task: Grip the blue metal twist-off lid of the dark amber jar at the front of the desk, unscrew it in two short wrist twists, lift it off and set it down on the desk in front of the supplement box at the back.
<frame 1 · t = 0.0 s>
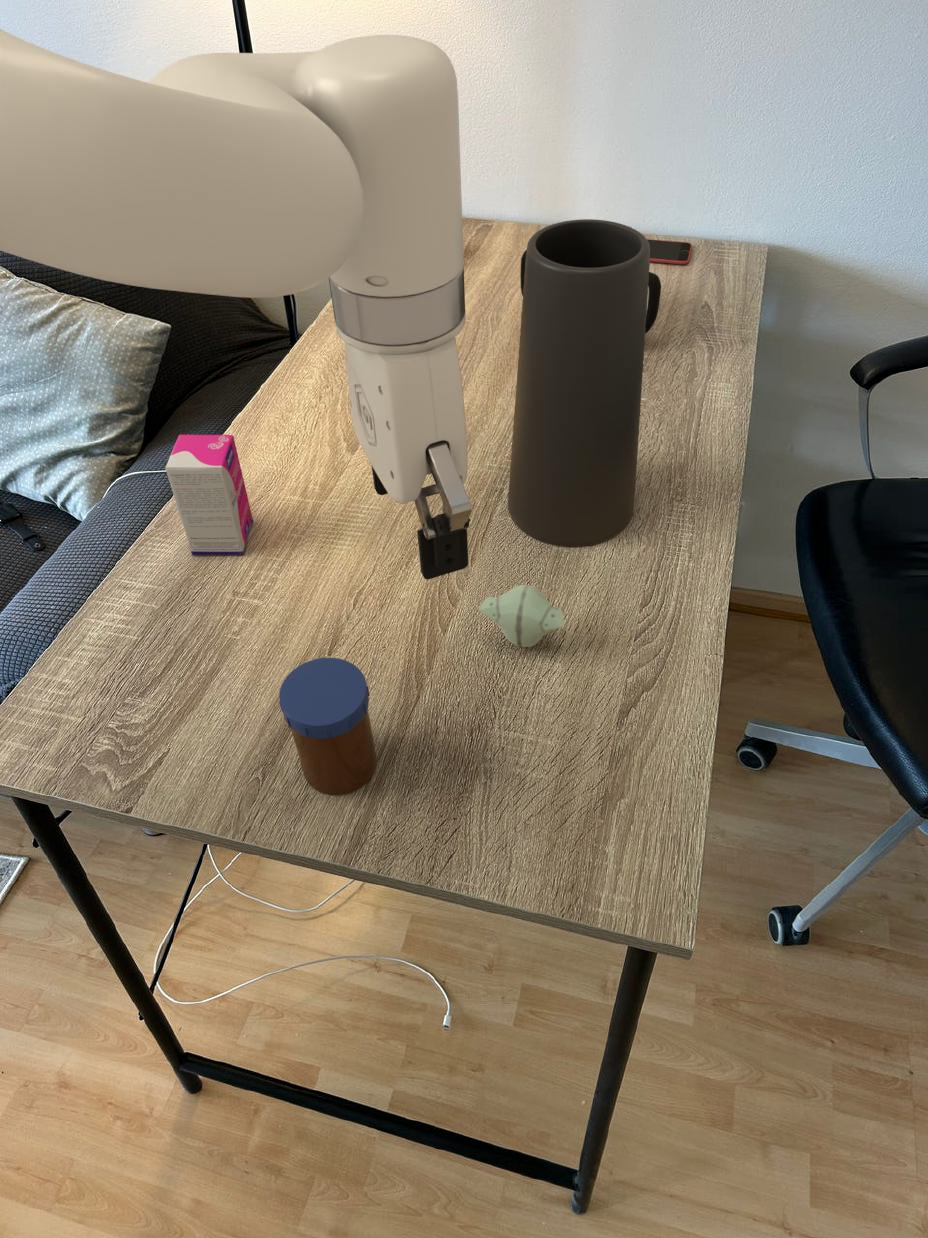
hand: (419, 527, 63), 22 cm above the table, tool pointing down, fingers open, 9 cm apart
vase: (570, 506, 98), on the table
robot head: (523, 643, 85), on the table
lid: (323, 693, 69), point 9 cm above the table, screwed on, not yet turned
supplement box: (224, 539, 96), on the table
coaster: (422, 262, 140), on the table
mug: (584, 336, 123), on the table
jar: (340, 764, 76), on the table
smartphone: (644, 253, 140), on the table
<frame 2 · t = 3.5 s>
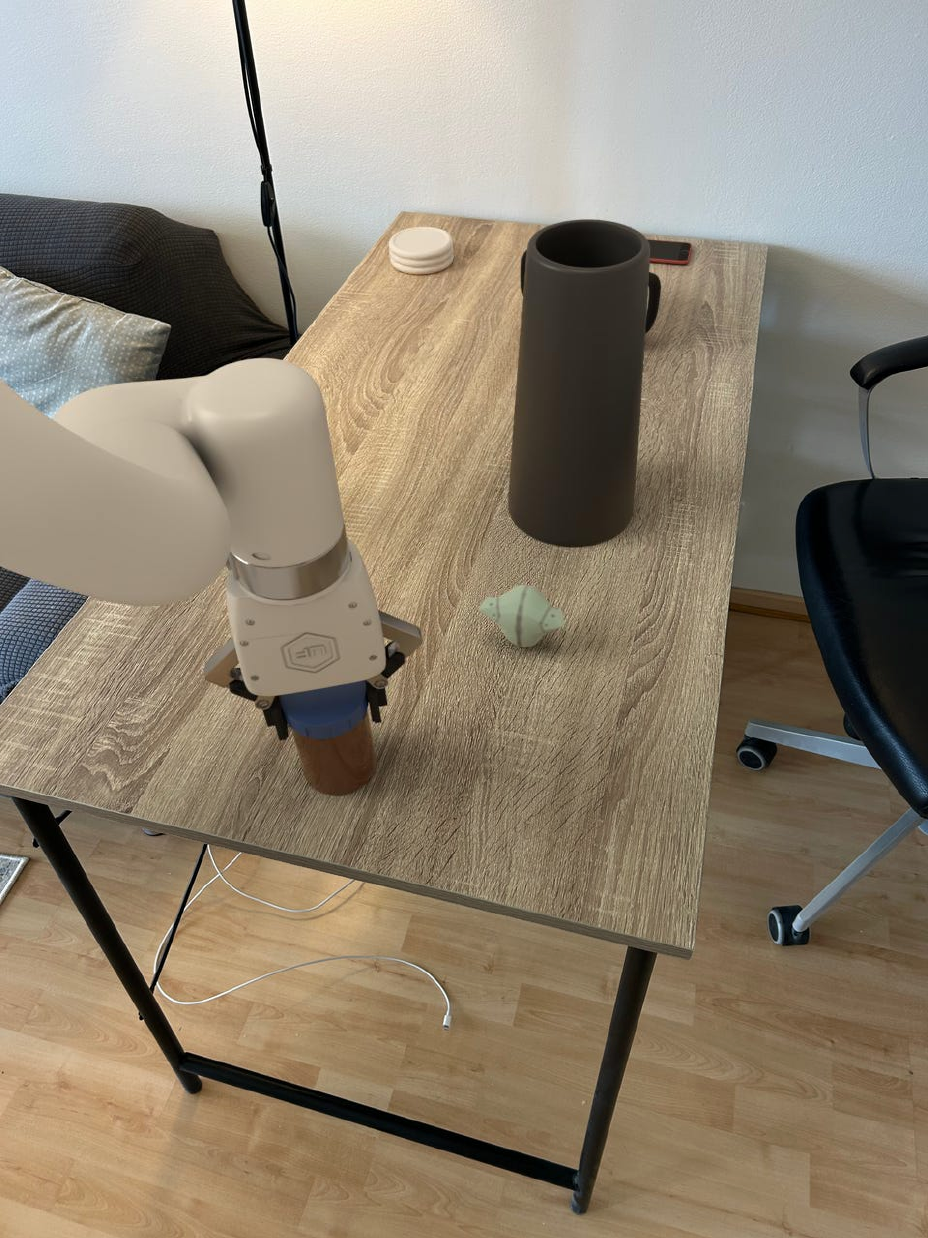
hand: (329, 716, 71), 7 cm above the table, tool pointing down, fingers closed on lid, 6 cm apart
lid: (323, 693, 69), point 9 cm above the table, screwed on, not yet turned, touching gripper
everything else where it was.
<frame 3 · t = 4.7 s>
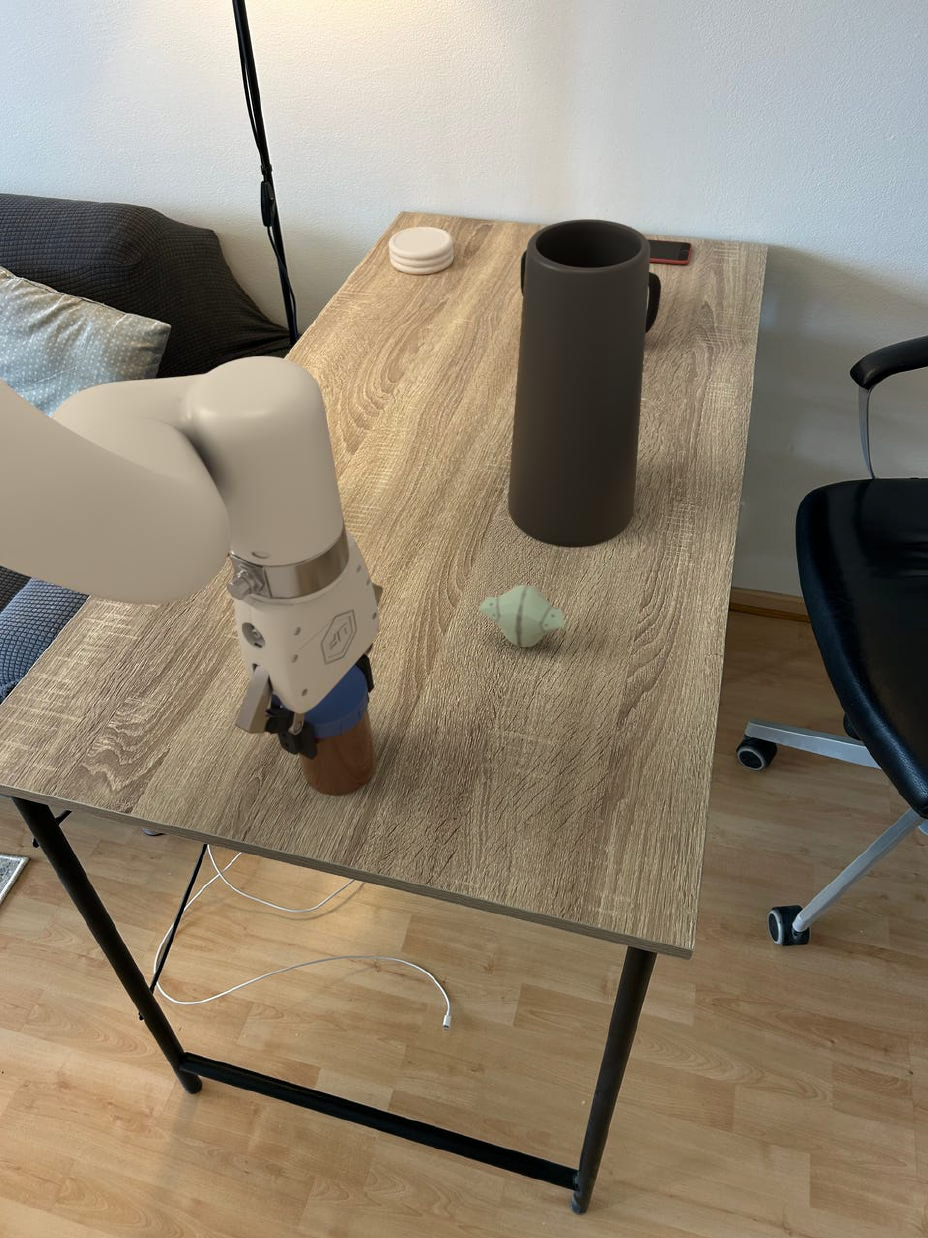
hand: (328, 715, 71), 7 cm above the table, tool pointing down, fingers closed on lid, 6 cm apart
lid: (323, 692, 69), point 10 cm above the table, turned 47° so far, risen 0.1 cm, still on its thread, touching gripper
everything else where it was.
when the fingers open (6 cm above the table, at t = 6.2 s): lid stays where it is, point 10 cm above the table.
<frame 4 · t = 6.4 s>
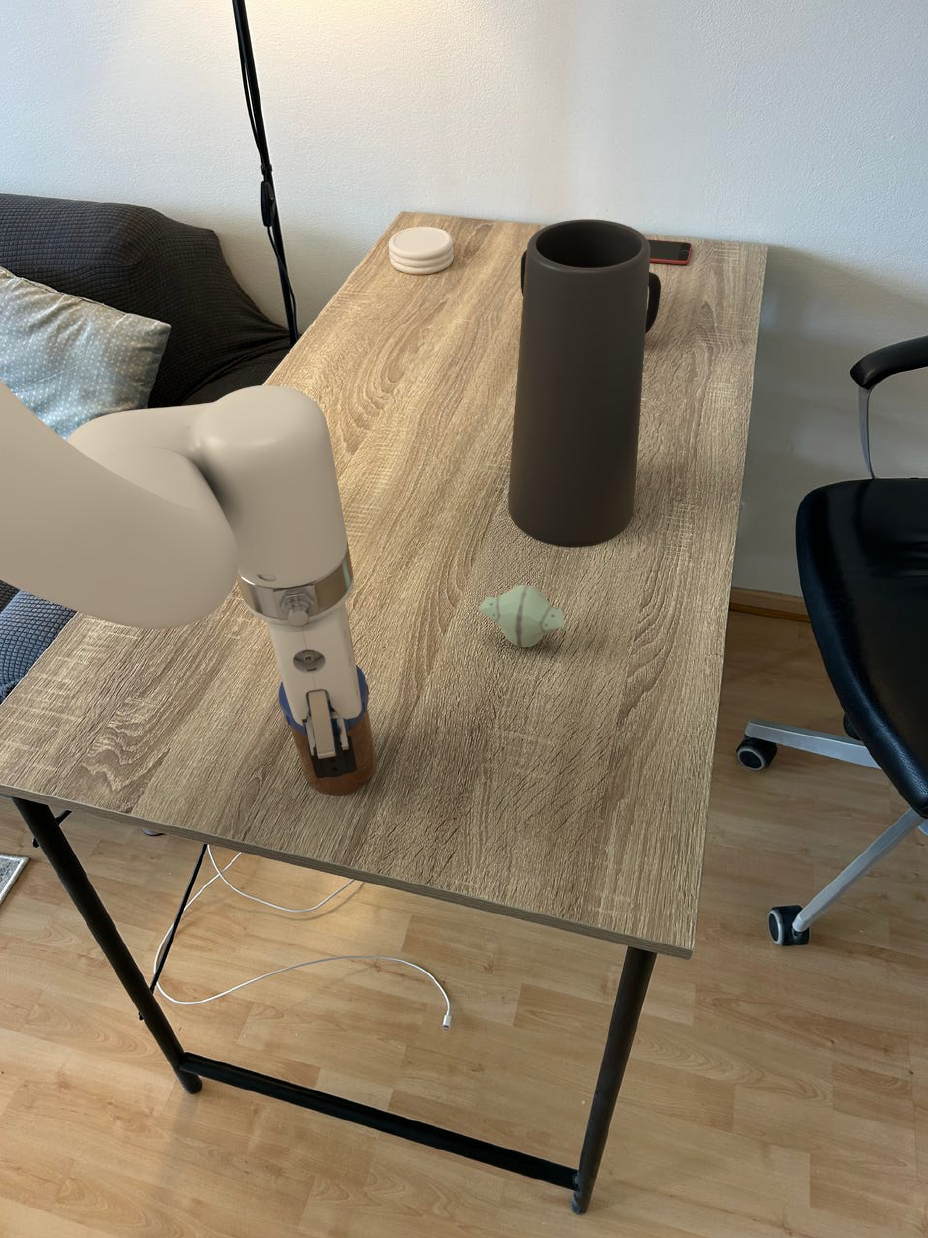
hand: (331, 727, 72), 5 cm above the table, tool pointing down, fingers open, 7 cm apart
lid: (323, 691, 69), point 10 cm above the table, turned 90° so far, risen 0.2 cm, still on its thread
everything else where it was.
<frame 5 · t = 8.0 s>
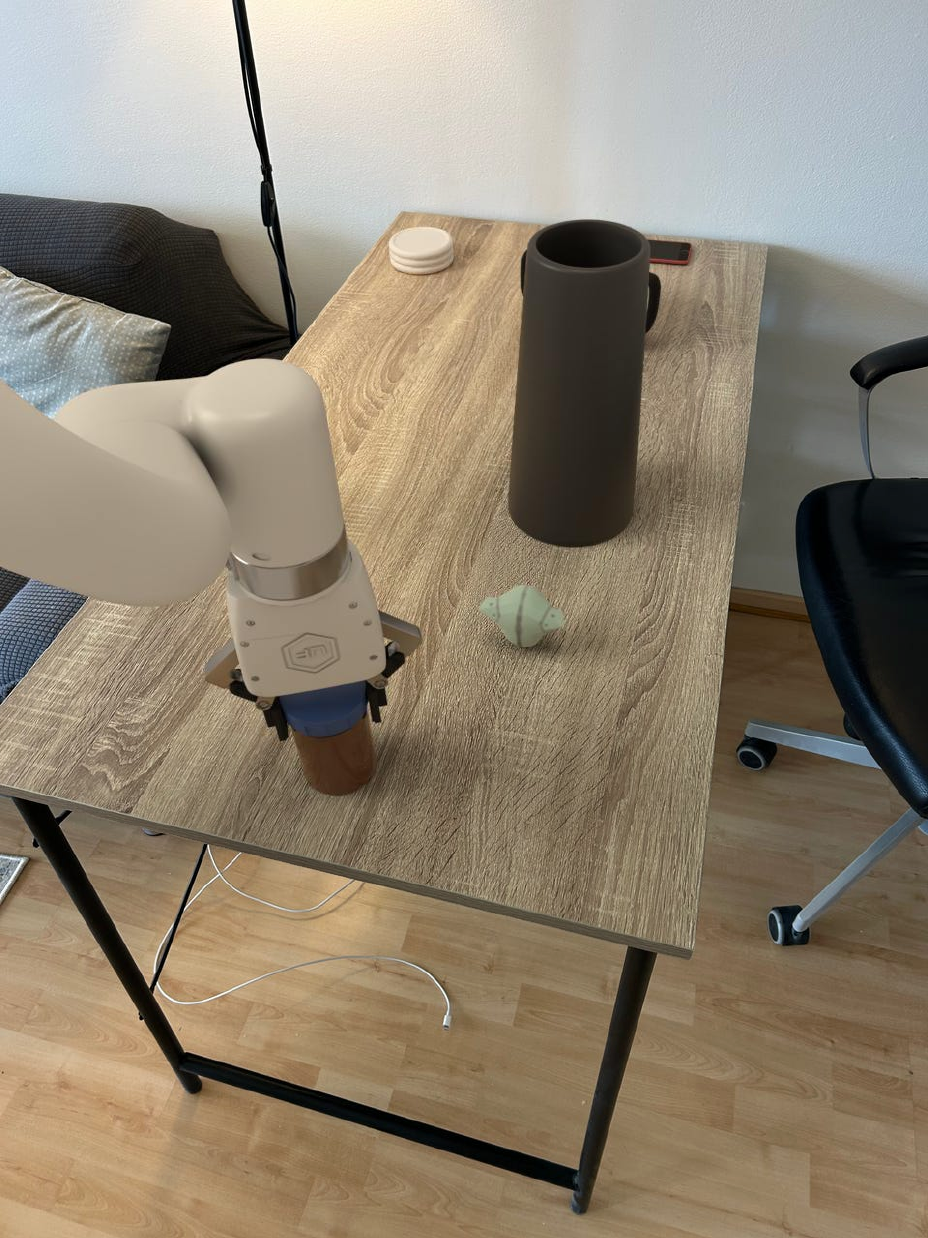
hand: (329, 716, 71), 7 cm above the table, tool pointing down, fingers closed on lid, 6 cm apart
lid: (323, 691, 69), point 10 cm above the table, turned 90° so far, risen 0.2 cm, still on its thread, touching gripper
everything else where it was.
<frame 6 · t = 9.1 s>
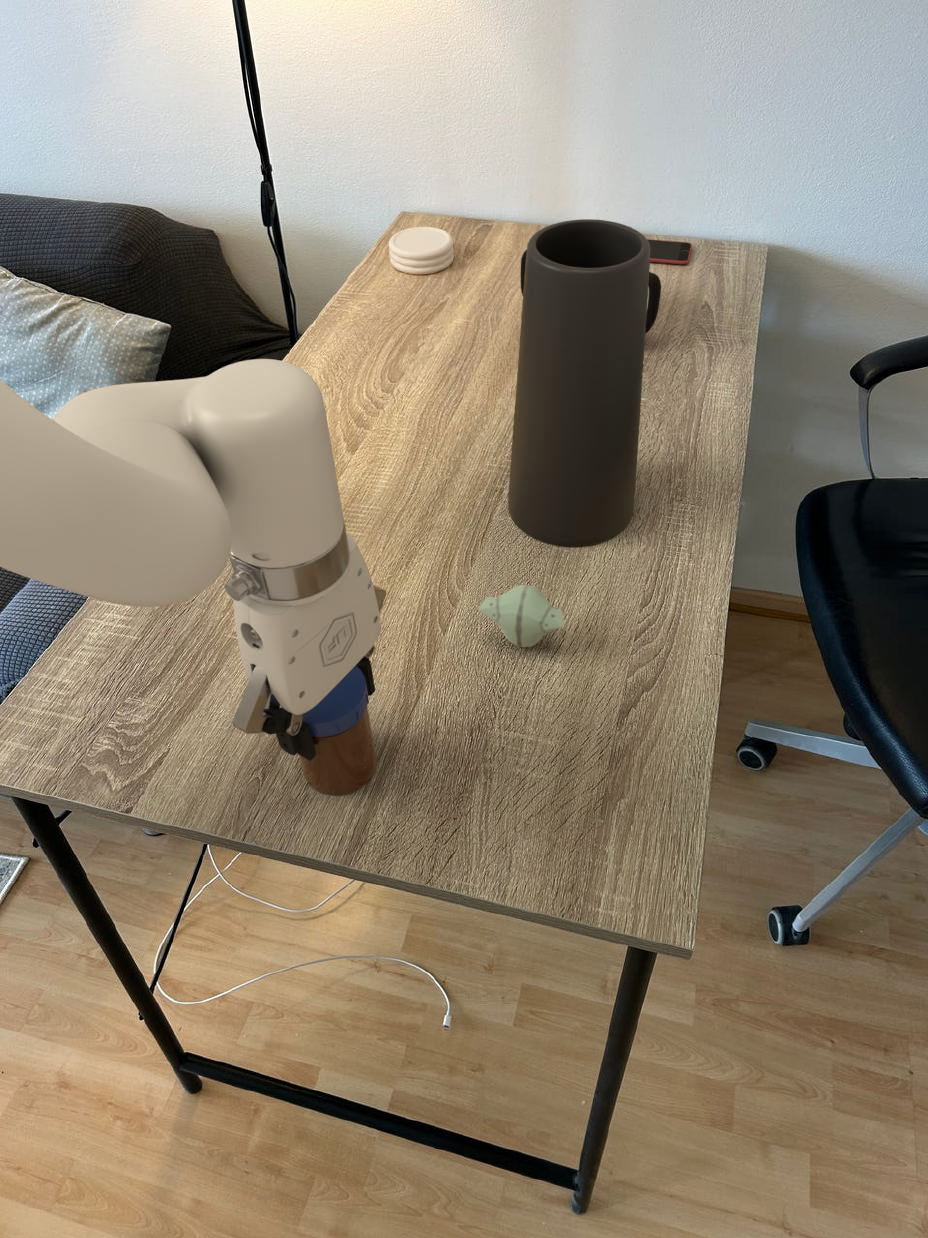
hand: (329, 716, 71), 7 cm above the table, tool pointing down, fingers closed on lid, 6 cm apart
lid: (323, 691, 69), point 10 cm above the table, off its thread, touching gripper
everything else where it was.
when the fingers open (0 cm above the table, at t = 17.9 s): lid drops 2 cm, point 1 cm above the table.
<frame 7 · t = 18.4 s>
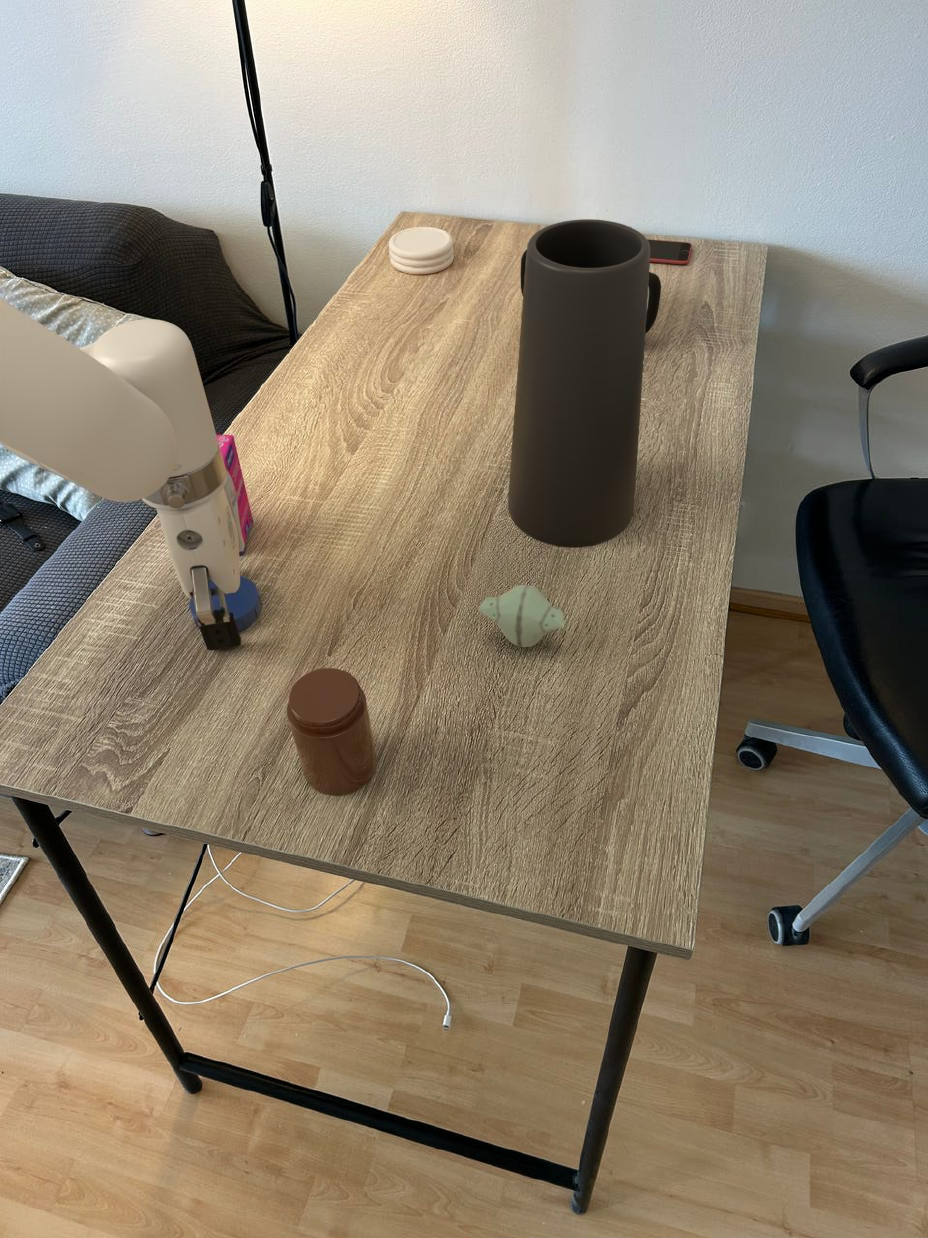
hand: (224, 610, 88), 0 cm above the table, tool pointing down, fingers open, 9 cm apart
lid: (224, 601, 88), point 1 cm above the table, off its thread
everything else where it was.
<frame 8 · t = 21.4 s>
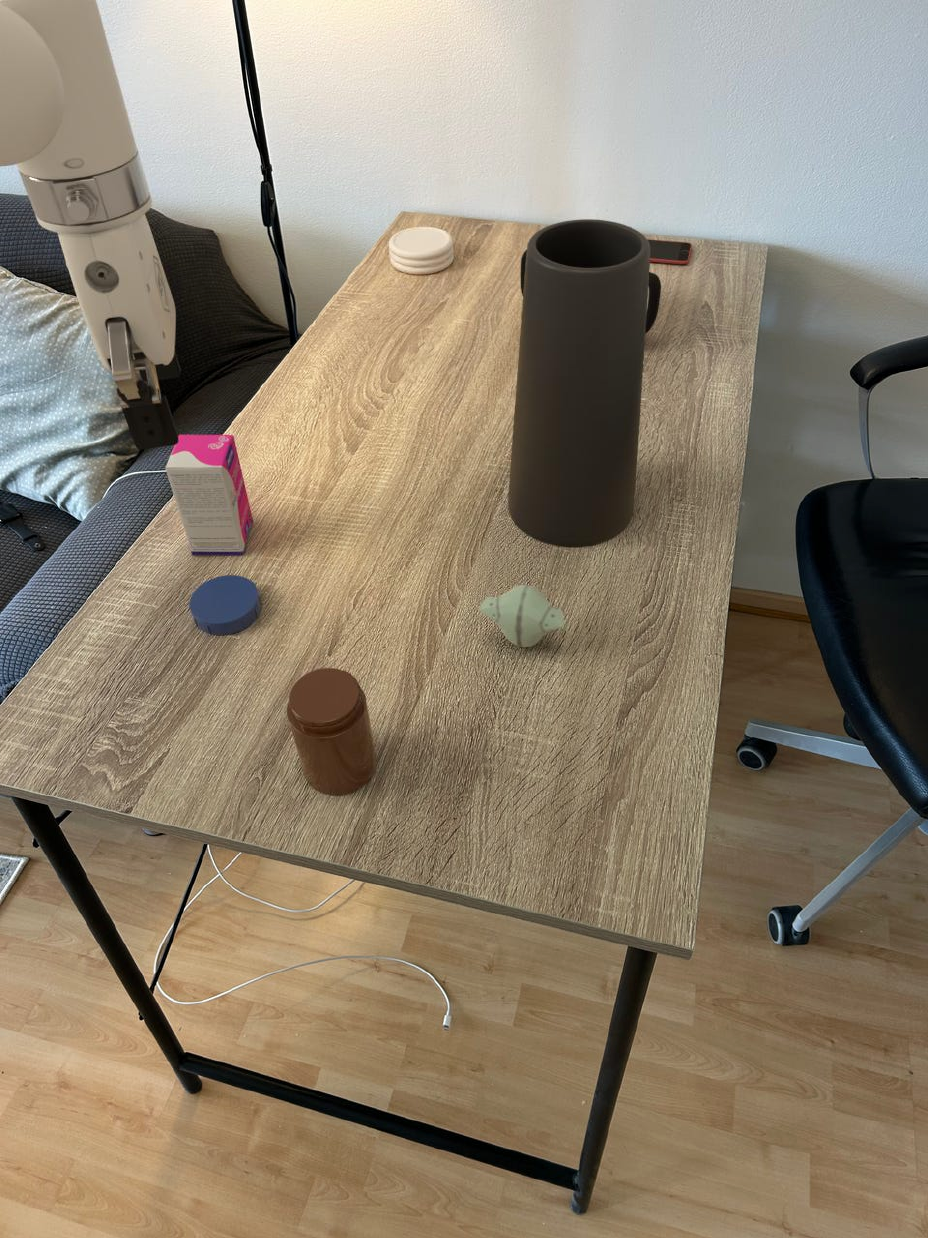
hand: (160, 409, 72), 23 cm above the table, tool pointing down, fingers open, 9 cm apart
nothing on the table moved.
at the end: lid came off its thread; lid inside the target area on the table beside the supplement box (0.5 cm from its centre), point 1.5 cm above the table; the gripper is holding nothing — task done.
